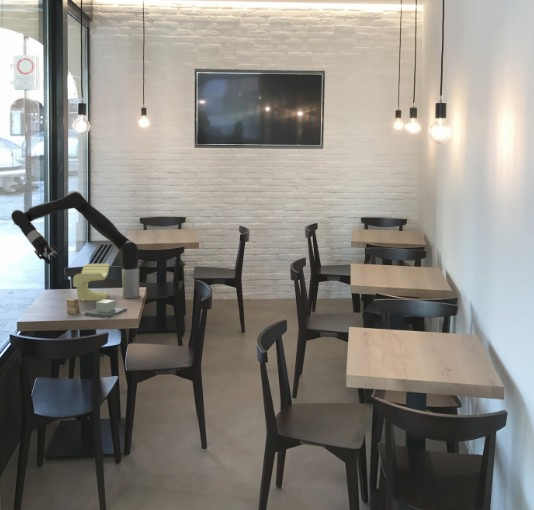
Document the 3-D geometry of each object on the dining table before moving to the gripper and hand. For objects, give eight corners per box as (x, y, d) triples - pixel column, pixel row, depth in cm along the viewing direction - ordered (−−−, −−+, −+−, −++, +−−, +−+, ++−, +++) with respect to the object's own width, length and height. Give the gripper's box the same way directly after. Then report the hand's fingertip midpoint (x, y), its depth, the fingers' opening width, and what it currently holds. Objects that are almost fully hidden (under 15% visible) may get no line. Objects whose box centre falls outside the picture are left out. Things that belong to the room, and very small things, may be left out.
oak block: (72, 311, 390) (72, 298, 389) (79, 312, 388) (78, 298, 387) (67, 313, 386) (66, 299, 385) (74, 314, 384) (73, 300, 383)
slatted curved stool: (84, 292, 435) (82, 264, 432) (110, 292, 436) (109, 263, 433) (74, 304, 406) (72, 273, 403) (103, 303, 407) (101, 273, 404)
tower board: (102, 308, 396) (102, 296, 395) (127, 311, 390) (126, 299, 389) (84, 315, 381) (83, 303, 380) (109, 318, 375) (108, 305, 374)
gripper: (31, 237, 384) (50, 259, 381) (49, 233, 397) (67, 255, 394) (24, 246, 387) (42, 268, 384) (42, 242, 400) (60, 264, 397)
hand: (55, 262), depth 389 cm, fingers open, 8 cm apart
